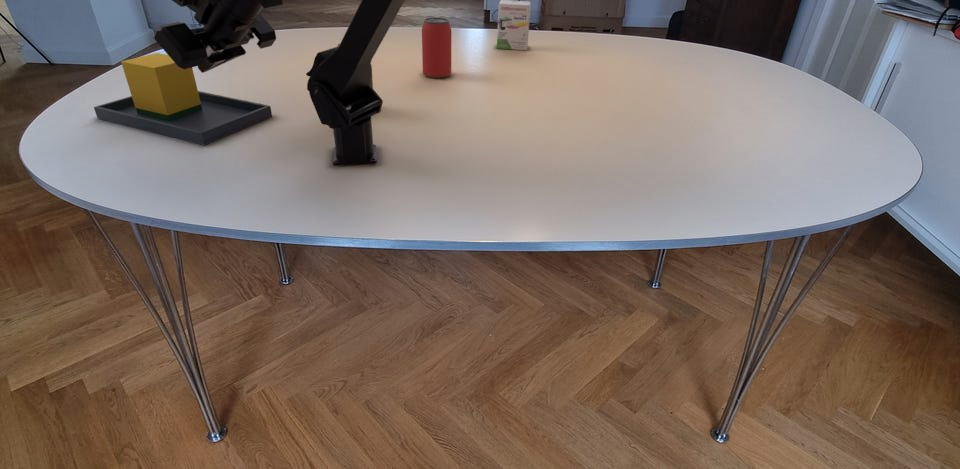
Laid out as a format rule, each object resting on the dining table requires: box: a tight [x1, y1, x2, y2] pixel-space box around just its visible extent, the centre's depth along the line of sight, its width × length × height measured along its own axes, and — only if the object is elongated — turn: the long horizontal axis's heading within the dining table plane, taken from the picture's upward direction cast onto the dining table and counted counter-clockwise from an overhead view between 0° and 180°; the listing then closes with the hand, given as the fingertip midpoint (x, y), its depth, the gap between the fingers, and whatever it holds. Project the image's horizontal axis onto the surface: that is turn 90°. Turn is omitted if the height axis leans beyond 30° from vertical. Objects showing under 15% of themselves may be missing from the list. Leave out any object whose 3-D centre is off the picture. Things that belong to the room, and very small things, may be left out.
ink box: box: [496, 0, 532, 51], centre depth 147 cm, size 8×5×12 cm, turn 84°
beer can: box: [421, 17, 452, 79], centre depth 122 cm, size 7×7×12 cm
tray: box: [93, 90, 273, 146], centre depth 96 cm, size 25×15×2 cm, turn 66°
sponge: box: [120, 52, 202, 121], centre depth 95 cm, size 8×7×9 cm
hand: (201, 69), depth 89 cm, fingers closed
